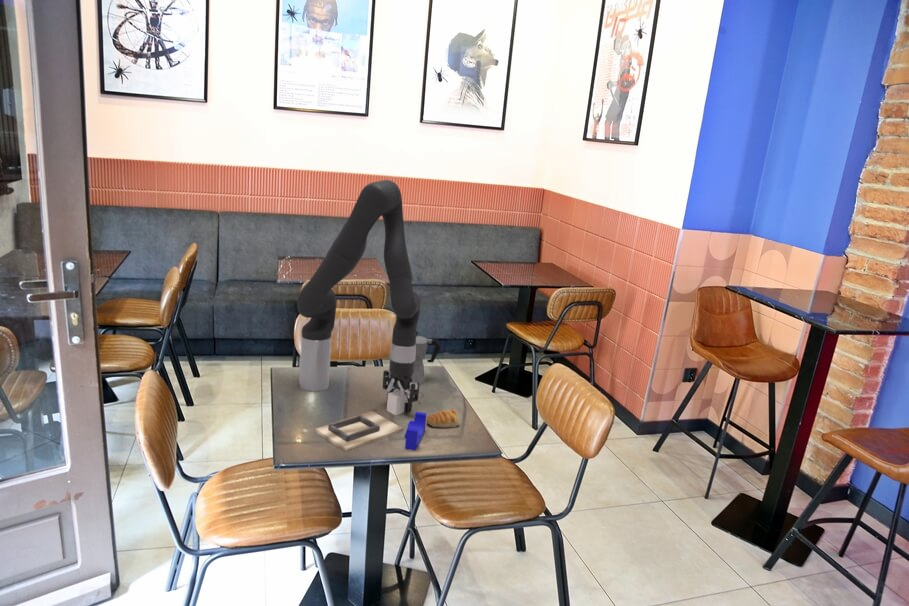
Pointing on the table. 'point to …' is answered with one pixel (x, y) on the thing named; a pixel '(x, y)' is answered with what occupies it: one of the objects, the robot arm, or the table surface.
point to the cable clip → (415, 431)
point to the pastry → (444, 419)
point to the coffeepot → (420, 355)
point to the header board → (358, 430)
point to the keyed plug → (396, 402)
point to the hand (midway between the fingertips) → (398, 408)
